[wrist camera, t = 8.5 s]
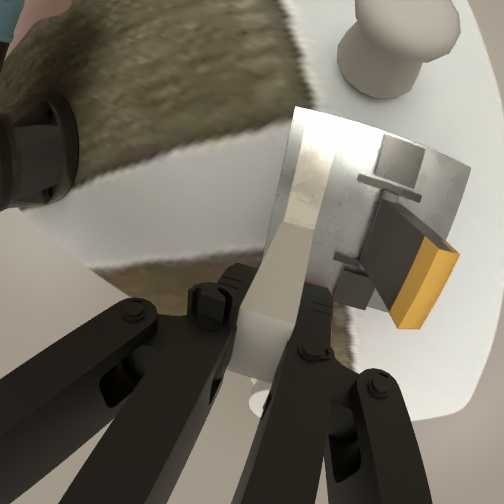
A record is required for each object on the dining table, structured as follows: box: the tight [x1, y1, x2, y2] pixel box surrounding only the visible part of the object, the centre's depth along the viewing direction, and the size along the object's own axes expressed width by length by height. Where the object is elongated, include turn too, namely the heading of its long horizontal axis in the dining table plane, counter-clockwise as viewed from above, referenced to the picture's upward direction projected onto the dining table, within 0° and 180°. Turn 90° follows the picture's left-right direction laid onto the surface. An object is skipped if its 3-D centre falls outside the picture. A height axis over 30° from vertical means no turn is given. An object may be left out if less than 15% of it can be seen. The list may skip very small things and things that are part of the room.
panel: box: [262, 107, 471, 312], centre depth 21 cm, size 14×14×3 cm
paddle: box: [358, 190, 460, 329], centre depth 16 cm, size 2×6×8 cm, turn 170°
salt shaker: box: [337, 0, 461, 99], centre depth 11 cm, size 6×6×13 cm
